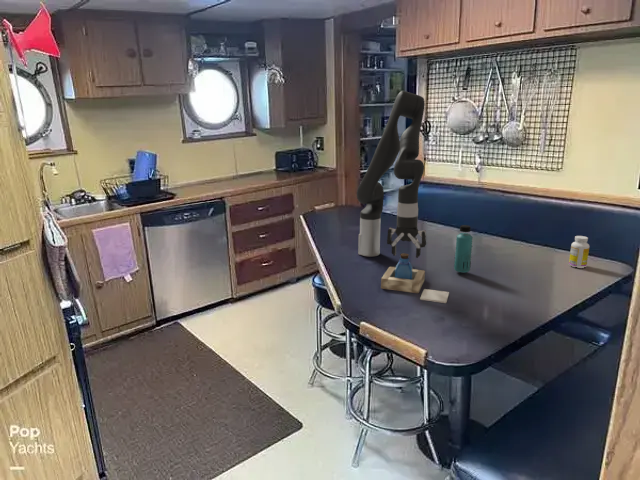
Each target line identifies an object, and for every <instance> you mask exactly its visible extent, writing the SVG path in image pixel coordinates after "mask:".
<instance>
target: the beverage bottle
mask: <svg viewBox="0 0 640 480" xmlns="http://www.w3.org/2000/svg"><path fill="white" fill-rule="evenodd" d="M459 232H460V233H458V234H457V235H456V243H455V252H454V263H453V264H454V265H453V268H454V271H456V272H459V273H468V272H470V271H471V266H472V254H473V235H472V234H470V232H471V226H470V225H468V224H461V225H460V227H459Z"/></svg>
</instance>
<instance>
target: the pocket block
mask: <svg viewBox="0 0 640 480" xmlns="http://www.w3.org/2000/svg"><path fill="white" fill-rule="evenodd" d="M395 270H396V266H389V267H388V268H387V270H386V271H385V272H384V273H383V274H382V275H383V276H382V277H381V278H380V279H381V280H380V289H383V290H393V291H398V292H405V293H413V294H419V293H420V291H421V289H422V286H423V284H424V283H425V280H426V279H425V275H426V271H425V270H423V269H422V270H421V269H416V268H415V269H414V268H412V280H410V279H402V278H395Z"/></svg>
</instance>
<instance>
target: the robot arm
mask: <svg viewBox="0 0 640 480" xmlns="http://www.w3.org/2000/svg"><path fill="white" fill-rule="evenodd" d="M425 104H426V103H425V99H424V96H422V95H419V94H415V93H412V92H408V91H405V90H401V91H400V92H399V93H398V94H397V95H396V97H395V100H394V103H393V105H392V109H391V112H390V114H389V118H388V120H387V123H386V126H385V128H384V131H383V133H382V135H381V138H380V140H379V141H378V144H377V146H376V149H375V150H374V154H373V156H372V158H371V161H370V163H369V166H368V168H367V170H366V173H365V174H364V176H363V177H362V180H360V181H361V182H360V183H359V185H358V186H357V189H356V199H357V200H358V202H359V203H361V204H363V205H365V207H364V208H363V209H362V210H361V211H360V212H359V217H360V218H359V234H358V246H357V248H358V251H357V252H358V255H360V256H364V257H368V258H369V257H370V258H371V257H377V256H379V255H380V250H381V247H380V246H381V220H382V219H381V217H382V216H381V215H382V213H383V210H384V199H385V198H384V195H385V192H384V187H383V185H382V184H381V183H380V182H379V181H380V179H381V178H382V177H383V176H384V175H385V173H387V172H388V171H389V169H391V168H392V166H393V165H394V168H393V174H394V176H395V178H397V179H399V180H413V181H412V182H411V183H410V184H406V185H401V186H399V188H398V192H397V194H398V196H397V207H396V208H397V210H396V228H393V227H389V228H388V230H387V237H386V238H387V239H386V244H387V245H390V246H391V255H393V256H396V255H397V244H398V242H400V241H402V242H408V243H409V242H412V243H413V244H414V245H415V247H416V249H415V258H417V259H418V258H419V257H420V256H421V249H422V248H426V245H427V230H425V229H423V230H418V223H419V222H418V217H419V206H418V205H419V204H418V203H419V202H418V201H419V189H420V188H419V187H420V184H421V180H422V179H423V175H424V171H425V164H424V162H423V161H422V160H421V159H417V158H418V157H419V154H420V135H421V128H422V123H423V119H424V118H423V117H424V112H425V106H426V105H425ZM400 117H403V118H407V119H412V122H411V123H410V125H409V126H408V127H407V128H406V129H405V130H404V131H403V133H402V134H401V136H400V135H399V129H398V122H399V118H400ZM394 163H395V164H394ZM394 234H396V235H397V237H396V238H395V239H394V240H392V238H393V235H394ZM418 235H419V236H420V237H421V243H420V241H419V239H418V237H417V236H418Z"/></svg>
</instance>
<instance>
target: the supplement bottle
mask: <svg viewBox="0 0 640 480" xmlns="http://www.w3.org/2000/svg"><path fill="white" fill-rule="evenodd" d="M588 240H589V237H587V236H583V235H576V236H574V241H573V242H572V243H571V246H570V251H569V260H568V265H569V264H570V265H572V266H586V265H587V264H588V260H589V259H588V258H589V252H590V244H589V243H588ZM586 267H587V266H586Z"/></svg>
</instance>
